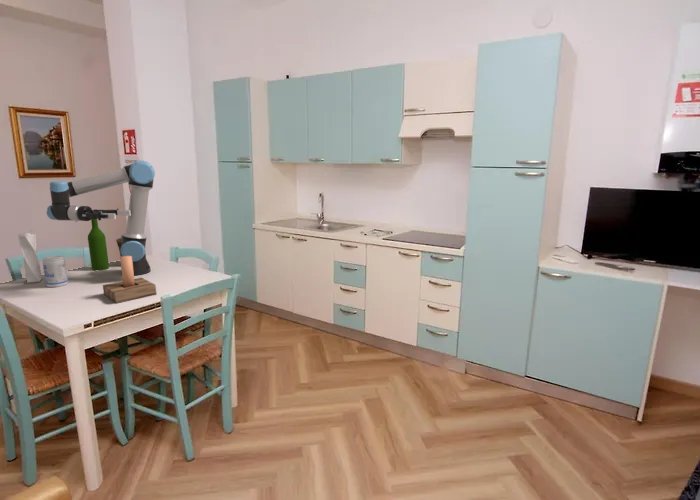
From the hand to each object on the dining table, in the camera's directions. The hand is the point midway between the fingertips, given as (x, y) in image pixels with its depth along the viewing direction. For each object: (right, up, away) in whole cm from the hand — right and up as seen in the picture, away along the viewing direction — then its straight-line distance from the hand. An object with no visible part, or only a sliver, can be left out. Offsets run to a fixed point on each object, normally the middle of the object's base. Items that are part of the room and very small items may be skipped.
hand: (122, 214), depth 208 cm
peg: (+7, -39, -6) cm, 40 cm away
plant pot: (-22, -27, +52) cm, 63 cm away
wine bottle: (-36, -29, +41) cm, 62 cm away
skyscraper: (-56, -35, +15) cm, 68 cm away
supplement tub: (-40, -36, +9) cm, 55 cm away
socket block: (+7, -40, -6) cm, 41 cm away
